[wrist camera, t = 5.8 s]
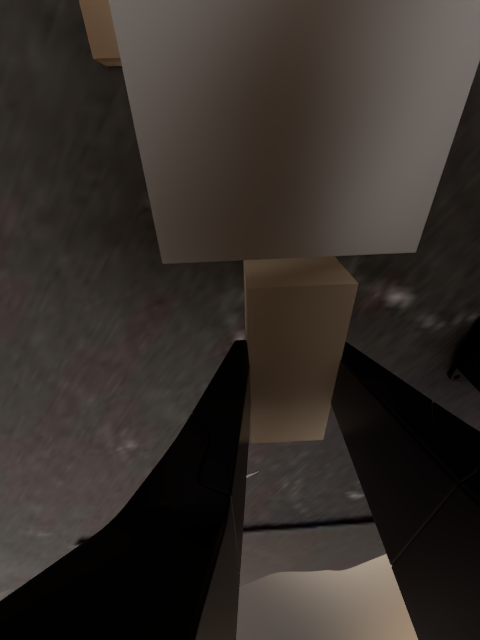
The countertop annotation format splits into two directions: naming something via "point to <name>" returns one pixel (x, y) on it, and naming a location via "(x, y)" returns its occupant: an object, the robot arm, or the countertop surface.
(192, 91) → the turner
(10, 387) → the countertop surface
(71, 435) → the countertop surface
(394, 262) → the countertop surface
